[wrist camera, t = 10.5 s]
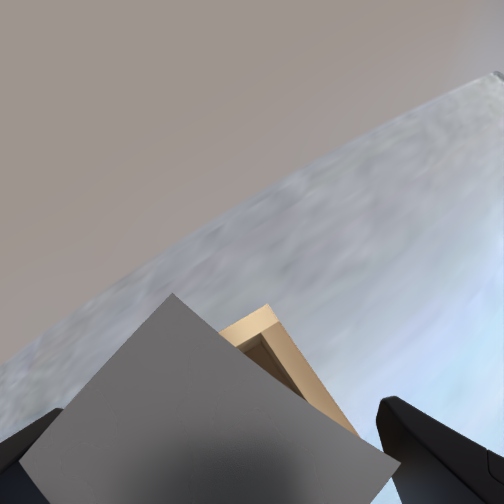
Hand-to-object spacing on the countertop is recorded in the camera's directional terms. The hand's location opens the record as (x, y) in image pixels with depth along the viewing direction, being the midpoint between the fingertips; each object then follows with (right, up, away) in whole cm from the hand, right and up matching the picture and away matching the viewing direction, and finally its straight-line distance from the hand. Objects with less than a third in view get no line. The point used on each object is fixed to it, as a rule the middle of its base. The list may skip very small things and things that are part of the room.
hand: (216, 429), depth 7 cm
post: (0, -5, +7) cm, 8 cm away
